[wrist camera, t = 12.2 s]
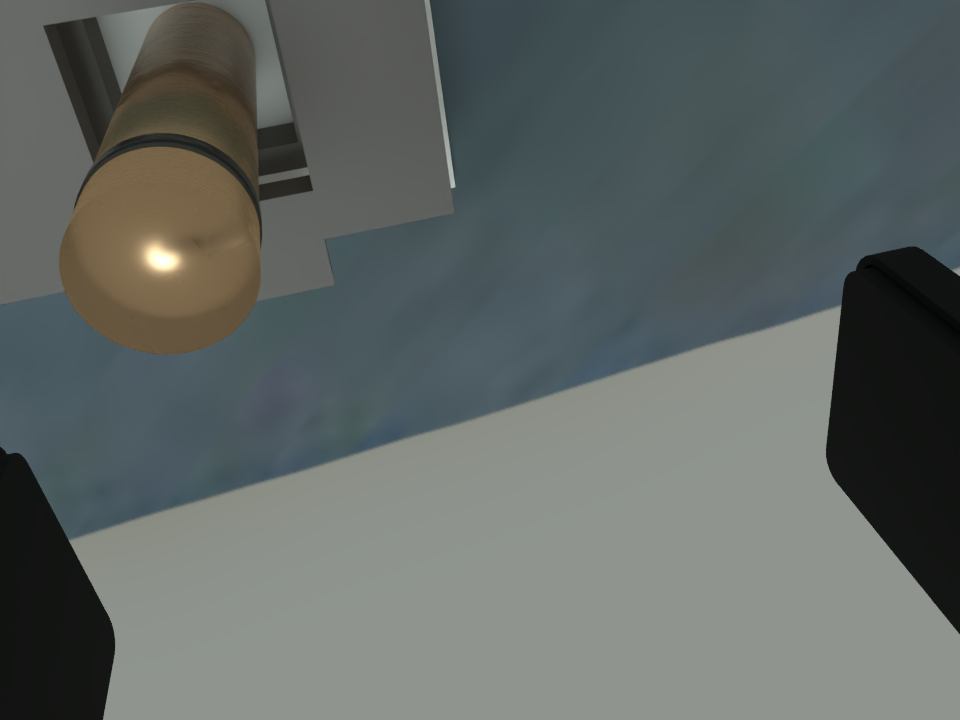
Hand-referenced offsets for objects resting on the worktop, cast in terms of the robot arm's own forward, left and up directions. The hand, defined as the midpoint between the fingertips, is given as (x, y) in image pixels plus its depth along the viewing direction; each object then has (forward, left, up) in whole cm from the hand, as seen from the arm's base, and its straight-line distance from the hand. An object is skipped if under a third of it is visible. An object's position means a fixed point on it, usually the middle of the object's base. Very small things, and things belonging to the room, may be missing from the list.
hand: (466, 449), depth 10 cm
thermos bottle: (+4, +2, -28) cm, 28 cm away
